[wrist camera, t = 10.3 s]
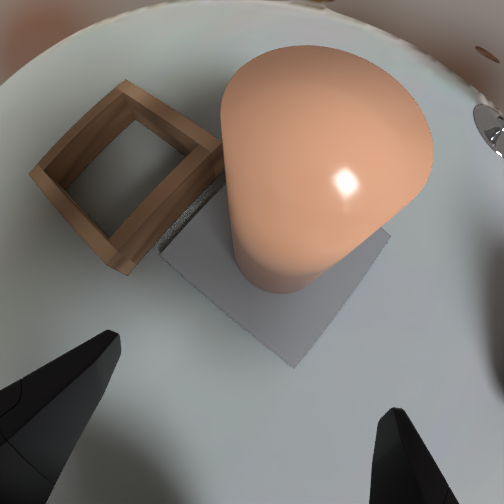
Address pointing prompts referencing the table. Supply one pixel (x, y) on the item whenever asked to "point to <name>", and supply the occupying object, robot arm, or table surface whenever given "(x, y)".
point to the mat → (259, 301)
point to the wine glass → (490, 127)
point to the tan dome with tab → (315, 160)
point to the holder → (159, 200)
